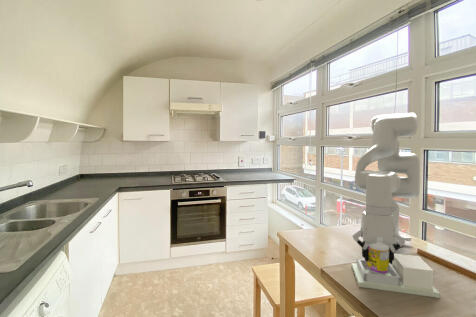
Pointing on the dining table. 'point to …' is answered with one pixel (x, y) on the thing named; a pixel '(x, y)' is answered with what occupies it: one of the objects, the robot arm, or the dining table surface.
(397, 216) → the robot arm
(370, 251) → the supplement bottle
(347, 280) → the dining table surface
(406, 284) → the square frame tray
